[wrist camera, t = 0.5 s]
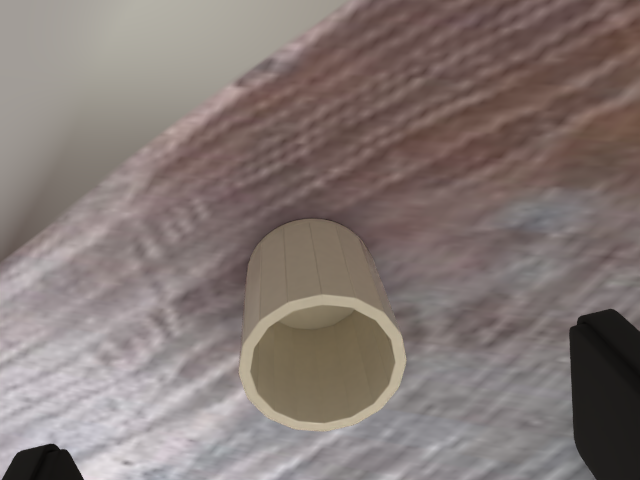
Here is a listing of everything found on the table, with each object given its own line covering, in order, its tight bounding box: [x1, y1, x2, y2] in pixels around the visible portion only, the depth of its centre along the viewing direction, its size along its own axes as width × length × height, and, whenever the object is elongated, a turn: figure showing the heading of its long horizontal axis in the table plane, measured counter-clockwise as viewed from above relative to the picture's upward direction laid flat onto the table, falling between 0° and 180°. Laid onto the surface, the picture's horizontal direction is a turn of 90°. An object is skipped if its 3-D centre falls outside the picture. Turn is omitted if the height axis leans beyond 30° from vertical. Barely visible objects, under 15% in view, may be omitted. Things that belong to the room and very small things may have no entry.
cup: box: [238, 219, 406, 432], centre depth 27 cm, size 7×7×8 cm
